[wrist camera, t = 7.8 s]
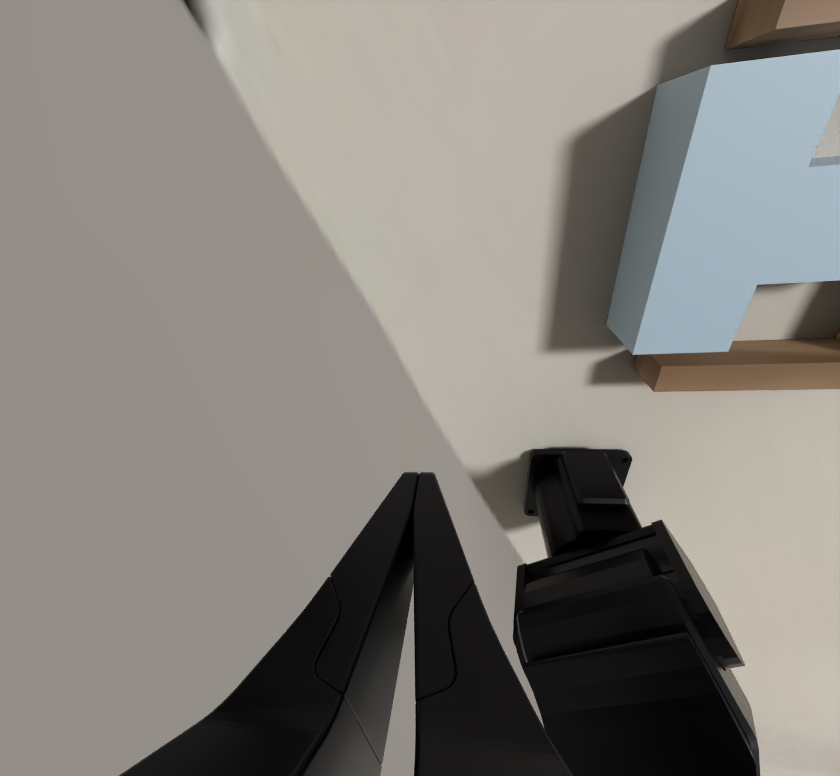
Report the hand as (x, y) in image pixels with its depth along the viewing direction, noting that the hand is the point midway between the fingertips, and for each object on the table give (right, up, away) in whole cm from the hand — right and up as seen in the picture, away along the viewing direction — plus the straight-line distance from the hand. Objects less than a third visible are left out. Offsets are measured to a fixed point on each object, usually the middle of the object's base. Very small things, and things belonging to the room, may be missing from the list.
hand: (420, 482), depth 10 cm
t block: (+15, +10, +6) cm, 19 cm away
